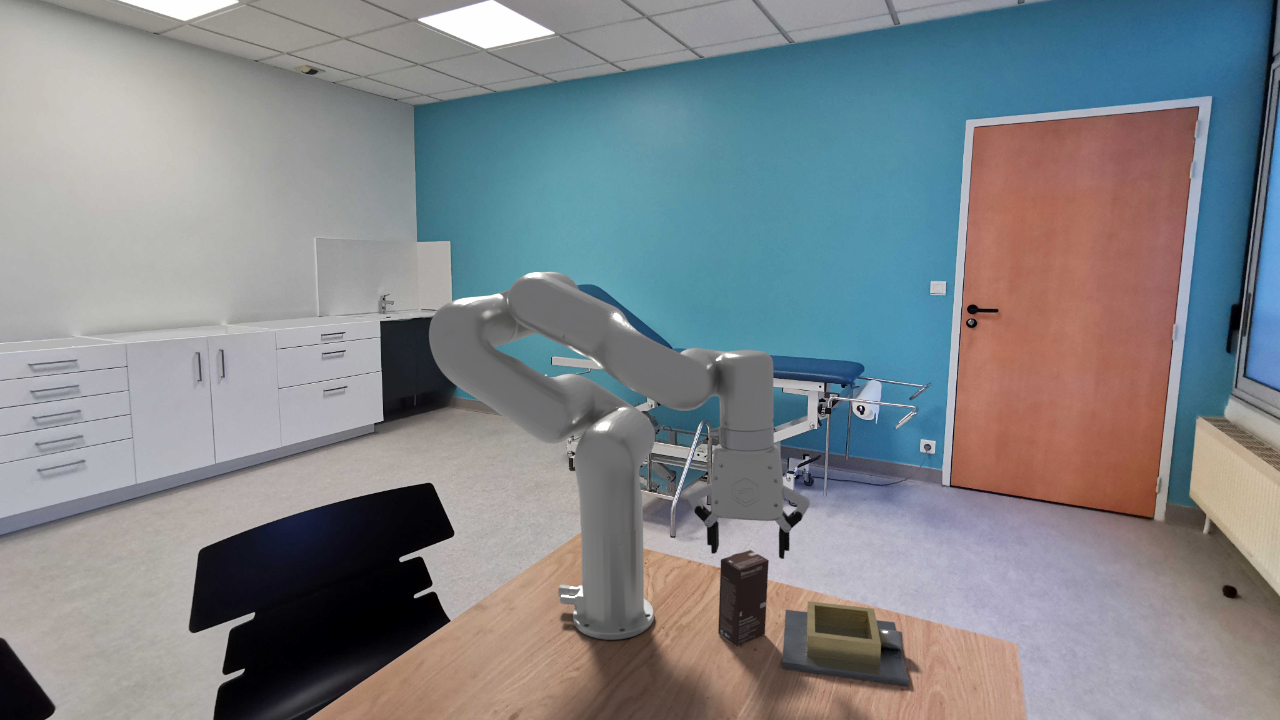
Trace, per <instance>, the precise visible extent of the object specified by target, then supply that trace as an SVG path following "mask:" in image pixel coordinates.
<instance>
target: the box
mask: <svg viewBox="0 0 1280 720" xmlns="http://www.w3.org/2000/svg"><path fill="white" fill-rule="evenodd" d="M769 561H770V560H769V559H767V558H765V556H762V555H760V554H758V553H756V552H754V551H753V550H751V549H749V550H746V551H743V552H738V553H735V554H732V555H731V556H728V557H724V558H721V559H720V576H719V577H720V578H719V600H718V601H719V606H718V630H717V631H718V632H717V634H718V635H719V636H720V637H721V638H723V639H724V640H725V641H727V642H729V644H732V646H735V647H738V646H740V645H742V644H745V643H747V642H749V641H752V640H754V639H756V638H759V637H761V636H765V634H766V617H767V601H768V598H767V597H768V581H769V580H768V578H769V576H768V575H769V564H770V563H769Z"/></svg>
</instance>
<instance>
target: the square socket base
mask: <svg viewBox="0 0 1280 720" xmlns="http://www.w3.org/2000/svg"><path fill="white" fill-rule="evenodd" d="M783 629H784V630H783V647H782V663H781V668H782V670H789V671H796V672H797V671H798V672H802V673H810V674H818V675H823V676H824V675H825V676H833V677H839V678H848V679H853V680H854V679H855V680H860V681H869V682H874V683H875V682H876V683H882V684H888V685H889V684H890V685H897V686H902V687H903V686H905V687H909V677H908V672H907V668H906V665H905V664H906V663H905V660H904V656H903V646H904V645H903V632H902V631H900V630H897V627H896V623H895V622H894V621H885V620H879V619H878V620H877V615H876V613H875V608H871V607H865V606H863V607H862V606H854V605H844V604H837V603H835V604H834V603H829V602H819V601H810V600H808V601H807V611H801V610H792V609H791V610H790V609H785V614H784V628H783Z"/></svg>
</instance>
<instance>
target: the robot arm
mask: <svg viewBox="0 0 1280 720" xmlns="http://www.w3.org/2000/svg"><path fill="white" fill-rule="evenodd" d="M428 331H429V332H428V338H429V339H428V340H429V341H428V342H429V346H430V350H431V353H432V356H433V360H434V361H435V363H436V365H437V367H438V368H439V369H440V372H441V373H442V374H443V375H444V376H445V377H446V378H447V379H448V380H449V381H450V382H451V383H453V384H454V385H455V386H457V387H458V388H459V389H461V390H462V391H463V392H465V393H467V394H469V395H470V396H472V397H473V398H475V399H476V400H478V401H480V402H482V403H483V404H485V405H487V406H488V407H489V408H491V409H492V410H494V411H495V412H496V413H498V414H499V415H501V416H503V417H504V418H505V419H507V420H508V421H510V422H511V423H513V424H514V425H516V426H518V427H519V428H521V430H523V431H525V432H527V433H528V434H530V435H531V436H533V437H534V438H536V439H538V440H539V441H541V442H542V443H546V444H551V445H555V444H560V443H562V442H565V441H566V440H568V439H570V438H571V437H574V435H576V436H577V437H578V438H579V440H578V441H577V445H576V447H575V451H574V452H575V453H574V469H575V470H574V471H575V475H576V476H575V477H576V481H577V487H578V495H579V513H580V516H579V517H580V538H581V541H580V542H581V545H580V546H581V548H580V549H581V579H582V581H581V584H579V585H578V586H575V585H571V584H570V585H569V584H562V583H561V584H560V585H559V587H558V592H557V593H558V597H560V598H559V603H560V604H561V605H573V607H574V609H573V611H572V622H573V625H574V626H575V627H576V629H577V630H578V632H581V633H582V634H584V635H585V636H589V637H591V638H594V639H597V640H598V639H599V640H606V641H607V640H608V641H609V640H610V641H611V640H612V641H616V640H623V639H629V638H632V637H635V636H638V635H639V634H642V633H643V632H645V631H646V630H648V629H649V628H650V626H652V623H653V622H654V619H655V618H654V617H655V611H654V608H653V605H652V604H651V603H650V601H649V600H647V599H645V597H644V595H645V593H644V591H645V590H644V587H645V585H644V583H645V581H644V580H645V579H644V576H645V575H644V573H645V572H644V571H645V570H644V513H643V512H644V509H643V507H644V506H643V495H642V488H641V481H640V471H641V470H640V469H641V466H642V464H644V461H646V459H647V458H648V457H649V456H650V454H651V452H652V451H653V449H654V447H655V446H654V445H655V443H656V442H655V441H656V435H655V434H656V433H655V429H654V426H653V423H652V422H651V421H650V418H648V417H647V416H646V415H645V413H644V412H642V411H641V410H640V409H638V408H637V407H635V406H634V405H633V404H630V403H629V402H627V401H625V400H624V399H622V398H621V397H619V396H617V394H615V393H613V392H611V391H610V390H608V389H606V388H605V387H603V386H602V385H600V384H598V383H597V382H595V381H593V380H592V379H590V378H587V377H586V376H583V375H581V374H580V375H579V374H576V373H575V374H574V373H566V374H564V373H563V374H561V375H557V376H554V377H552V378H551V377H548V376H546V375H544V374H542V373H541V372H539V371H537V370H536V369H533V368H532V367H530V366H529V365H528V364H526V363H525V362H523V361H521V360H520V359H518V358H516V357H514V356H512V355H509V354H506V353H504V352H502V351H500V350H497V349H496V347H501V346H504V345H507V344H510V343H513V342H516V341H518V340H519V341H520V340H521V339H524V338H527V337H531V336H534V335H536V334H538V335H540V336H542V337H544V338H546V339H548V340H550V341H552V342H555V343H557V344H559V345H561V346H562V347H565V348H567V349H569V350H571V351H574V352H575V353H578V354H579V355H581V356H583V357H585V358H587V359H589V360H591V361H593V362H594V363H595V364H596V365H597V366H598V367H599V368H600V369H601V370H603V371H604V372H605V373H607V374H608V375H609V376H611V377H612V378H613V379H614V380H616V381H617V382H619V384H622V386H625V387H626V388H628V389H629V390H631V391H633V392H635V393H637V394H639V395H641V396H643V397H646V398H647V399H649V400H652V401H654V402H656V403H657V404H659V405H663V406H664V407H666V408H669V409H672V410H676V411H683V412H684V411H686V412H687V411H688V412H689V411H693V410H696V409H698V408H700V407H702V405H704V404H705V403H706V402H707V401H708V400H709V399H710V398H712V397H718V399H719V426H718V427H715V428H710V429H709V438H710V439H715V440H717V441H718V442H719V443H718V444H717V445H716V446H715V447H714V450H713V456H712V465H711V478H710V483H708V484H705V485H704V486H703V485H702V486H701V487H698V488H697V489H695V490H693V491H690V492H689V494H687V495H688V496H687V500H688V502H689V504H690V505H691V508H692V509H693V512H694V514H695V515H696V516H697V517H698V518H699V519H700V520H701V521H702V522H703V523H704V524H703V525H704V526H705V527H706V544H707V546H710V550H711V551H710V552H711V554H714V555H715V554H717V553H718V550H719V546H720V539H719V537H720V535H719V534H720V533H719V532H720V529H719V528H720V524H719V521H718V520H719V518H720V519H727V520H729V519H730V520H742V521H744V520H745V521H759V522H761V521H762V522H773V521H775V523H776V524H777V525H778V526H779V527H778V528H779V529H778V558H779V559H781V560H784V559H785V552H790V532H791V530H792V529H793V528H794V527H795V526H797V525H798V523H799V522H801V521H802V519H803V517H804V515H806V513H807V510H809V507H810V503H811V502H810V498H808V497H806V496H804V495H803V494H800V493H799V492H797V491H795V490H793V489H791V488H789V487H787V486H786V485H785V484H784V476H783V475H784V474H783V465H782V458H781V452H780V451H779V450H780V449H779V447H778V446H777V445H776V444H775V443H774V442H775V440H774V439H775V437H774V435H775V431H774V430H775V425H774V423H775V422H774V417H775V416H774V405H775V404H774V360H773V357H772V356H771V354H769V353H768V352H766V351H762V350H755V349H741V350H731V351H723V350H715V349H709V348H700V347H692V348H687V349H685V350H683V351H681V352H678V351H676V350H674V349H672V348H670V347H667V346H665V345H663V344H661V343H659V342H658V341H655V340H653V339H651V338H649V337H648V336H646V335H644V334H642V332H639V331H638V330H637V329H636V328H635V327H634V326H633V325H631V323H630V322H629V320H628V319H627V317H626V315H625V314H624V313H623V312H622V310H620V309H619V308H618V307H617V306H614V305H612V304H610V303H607V302H605V301H603V300H601V299H599V298H597V297H594V296H593V295H590V294H589V293H586V292H584V291H581V290H580V289H579V287H578V285H577V283H576V282H575V281H574V280H573V279H572V278H571V277H570V276H567V274H566V275H565V274H563V273H560V272H556V271H547V272H546V271H544V272H543V271H542V272H541V271H539V272H537V271H535V272H529V273H526V274H524V275H522V276H520V277H519V278H518V279H516V280H515V281H514V283H512V285H511V286H510V288H509V289H506V290H504V291H503V290H502V291H501V292H498V293H495V294H490V295H483V296H482V295H481V296H471V297H463V298H458V299H454V300H451V301H449V302H447V303H446V304H443V305H442V306H441V307H440V308H439V309H438V310H436V312H435V314H434V315H433V317H432V318H431V321H430V324H429V330H428ZM707 496H710V510H709V509H708V508H707V507H706V506H705V505H704V504H703V503H702V501H701V500H702V499H704V498H705V497H707ZM785 499H786V500H787V501H790V502H791V503H793V504H795V505H796V508H795V510H793V511H792V512H791V513H790V514H789V515H788V514H787V512H785V510H784V507H785V506H784V502H785Z"/></svg>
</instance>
